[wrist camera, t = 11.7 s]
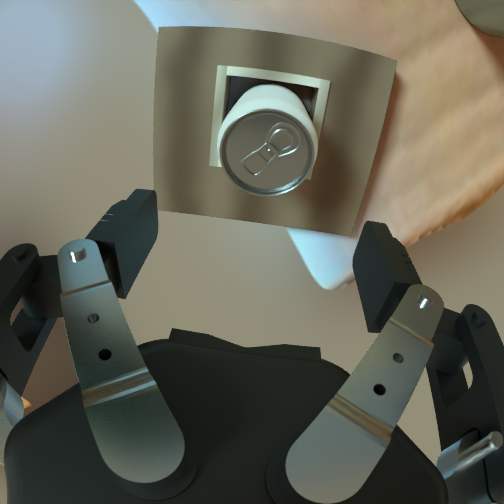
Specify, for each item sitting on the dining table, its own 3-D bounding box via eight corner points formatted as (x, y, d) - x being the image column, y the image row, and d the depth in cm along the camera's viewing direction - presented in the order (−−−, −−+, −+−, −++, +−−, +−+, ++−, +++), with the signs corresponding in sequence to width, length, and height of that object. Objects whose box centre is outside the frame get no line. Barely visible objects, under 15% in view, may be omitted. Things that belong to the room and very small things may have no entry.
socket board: (386, 59, 23) (398, 60, 20) (345, 221, 34) (350, 237, 31) (169, 28, 23) (158, 26, 20) (163, 196, 33) (154, 210, 31)
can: (318, 118, 27) (343, 159, 18) (268, 159, 30) (265, 221, 21) (270, 68, 25) (268, 78, 15) (221, 114, 28) (190, 154, 18)
